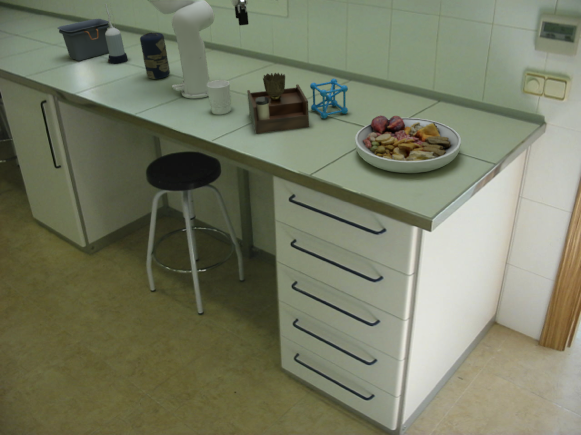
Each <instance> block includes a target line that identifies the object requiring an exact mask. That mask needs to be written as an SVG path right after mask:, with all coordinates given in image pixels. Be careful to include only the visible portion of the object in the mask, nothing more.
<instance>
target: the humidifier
mask: <svg viewBox="0 0 581 435" xmlns="http://www.w3.org/2000/svg"><path fill="white" fill-rule="evenodd" d="M104 5H105V9H106V15H107V21H109V23H108V24H109V27H108V28H107V31H106V33H105V35H106V41H107V46H108V50H109V53H108V59H107V60H108V62H109V64H111V65H119V64H124V63H127V62H128V61H129V59H128V55H127V52H126V51H125V47H124V46H125V45H124V42H123V37H122V33H121V31H120V30H119V29H118V28H117V27H116V24H115V23H113V24H112V21H111V14H113V12H112V11H113V10H112V9H110V10H111V11H109V8H112V5H111V4H109V6H110V7H108V4H107V2H106V3H104ZM110 13H111V14H110ZM112 20H113V22H115V19H114V18H112ZM113 25H114V26H113ZM115 27H116V28H115Z"/></svg>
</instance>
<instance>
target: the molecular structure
mask: <svg viewBox="0 0 581 435" xmlns="http://www.w3.org/2000/svg"><path fill="white" fill-rule="evenodd" d="M327 85H331V87H330V90H326V89H320V88H319V87H322V86H327ZM336 86H337V87H338V88H336ZM309 87H310V90H312V104H311V106H310V109H311V111H312V112H318V113H319V114H320V117H321V119H324V120H325V119H327V118H328V116H331V115H335V114H342V115H346V114H348V112H349V109H348V107H346V103H347V102H346V100H347V99H346V93H347V92H348V90H349V88H348V86H347V85H346V84H344V85H341V84H340V83H339V82H338V79H336V78H331V79H330V81H325V82H321V83H316V82H311V83H310V85H309ZM316 91H317V92H318V93H319V96H320V97H322V101H320V102H319V103H317V104H316ZM340 93H342V99H343V100H342V105H343V107H342V106H341V105H340V104H339V103H338V100H336V96H337V95H339V94H340ZM329 106H331V107H334V108H335V107H337V108H338V109H339V110H335V111H331V112H327V110H328V108H329ZM319 108H322V111H321V110H320V109H319Z"/></svg>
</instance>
